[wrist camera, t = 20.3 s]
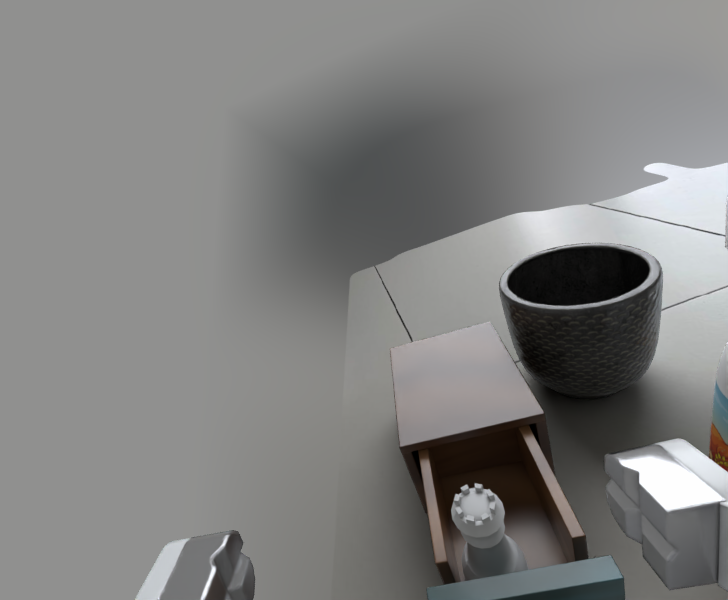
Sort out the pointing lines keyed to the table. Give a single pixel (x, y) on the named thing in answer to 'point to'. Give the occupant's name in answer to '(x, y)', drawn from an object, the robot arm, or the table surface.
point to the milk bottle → (720, 415)
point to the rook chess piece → (485, 535)
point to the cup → (727, 237)
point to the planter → (584, 316)
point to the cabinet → (460, 394)
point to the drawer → (512, 523)
